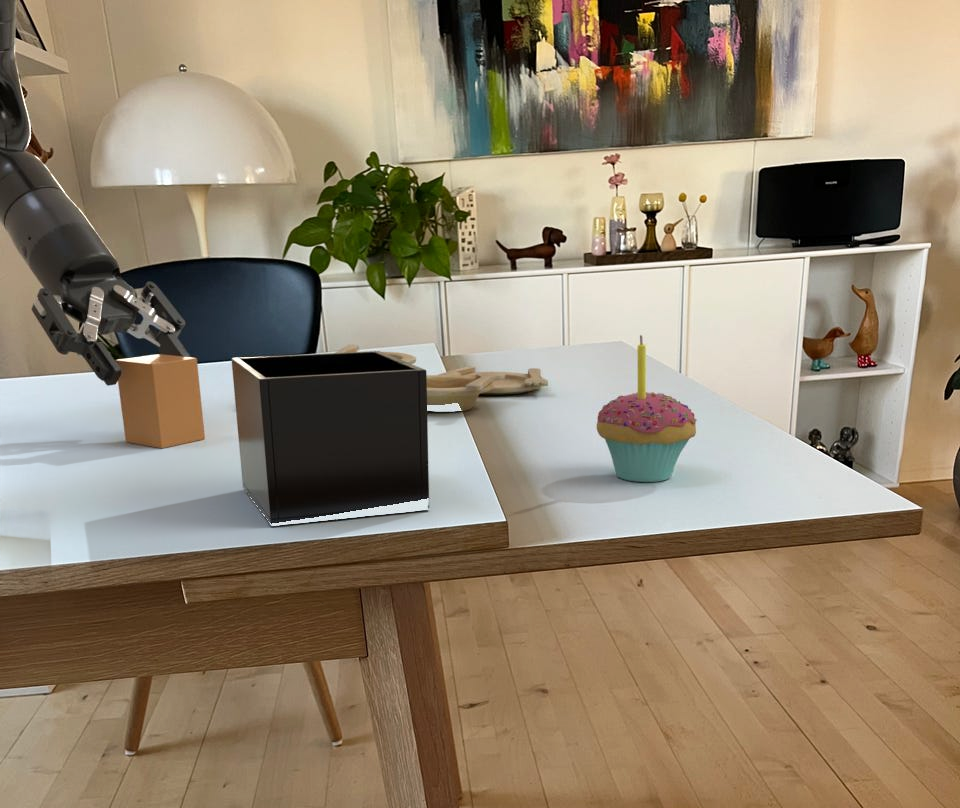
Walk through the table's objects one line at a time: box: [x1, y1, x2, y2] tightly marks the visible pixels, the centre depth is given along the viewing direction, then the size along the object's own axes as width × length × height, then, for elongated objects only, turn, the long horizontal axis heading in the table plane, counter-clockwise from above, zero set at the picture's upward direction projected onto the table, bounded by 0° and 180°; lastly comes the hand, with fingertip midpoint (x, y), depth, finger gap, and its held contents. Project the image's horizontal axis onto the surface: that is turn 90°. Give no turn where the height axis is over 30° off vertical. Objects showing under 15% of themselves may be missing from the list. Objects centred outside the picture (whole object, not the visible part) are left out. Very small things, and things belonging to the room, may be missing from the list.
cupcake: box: [596, 334, 698, 483], centre depth 88 cm, size 9×8×12 cm
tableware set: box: [334, 343, 549, 413], centre depth 130 cm, size 35×29×4 cm
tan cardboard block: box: [114, 353, 206, 449], centre depth 103 cm, size 6×6×8 cm
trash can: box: [230, 350, 430, 524], centre depth 81 cm, size 12×12×11 cm
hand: (151, 374), depth 103 cm, fingers open, 8 cm apart
